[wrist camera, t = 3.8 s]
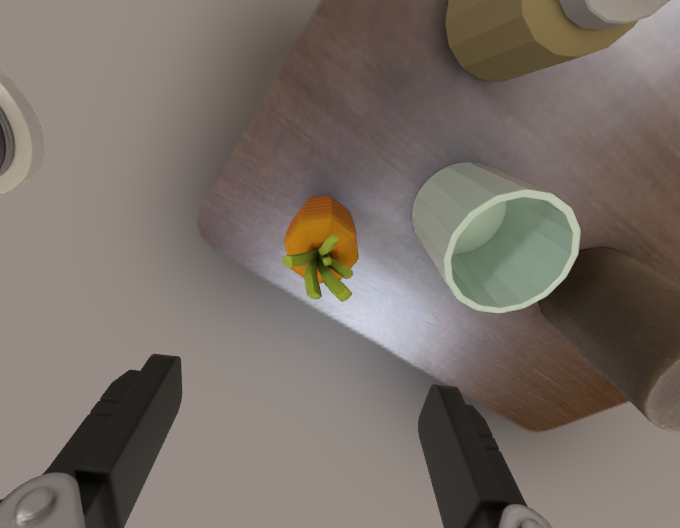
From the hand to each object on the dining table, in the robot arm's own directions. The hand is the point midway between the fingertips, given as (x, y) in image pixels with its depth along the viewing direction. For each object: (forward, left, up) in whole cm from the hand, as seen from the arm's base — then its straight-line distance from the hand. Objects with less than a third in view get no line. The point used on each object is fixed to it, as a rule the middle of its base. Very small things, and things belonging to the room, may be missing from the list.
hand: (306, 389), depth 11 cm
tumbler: (+13, +1, -22) cm, 26 cm away
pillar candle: (+29, -5, -22) cm, 37 cm away
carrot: (0, 0, -23) cm, 23 cm away
